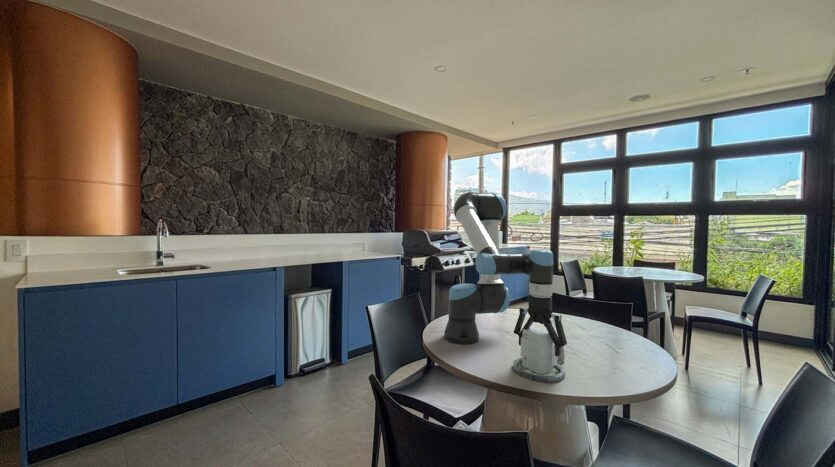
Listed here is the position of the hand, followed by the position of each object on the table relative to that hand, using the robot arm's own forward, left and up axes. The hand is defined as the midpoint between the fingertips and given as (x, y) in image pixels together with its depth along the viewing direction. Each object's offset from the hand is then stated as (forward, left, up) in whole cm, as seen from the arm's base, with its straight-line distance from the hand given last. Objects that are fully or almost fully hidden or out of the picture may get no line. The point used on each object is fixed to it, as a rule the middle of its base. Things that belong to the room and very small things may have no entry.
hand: (538, 360), depth 114 cm
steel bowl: (0, 0, -4) cm, 4 cm away
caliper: (-5, +20, -4) cm, 21 cm away
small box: (0, 0, -3) cm, 3 cm away
